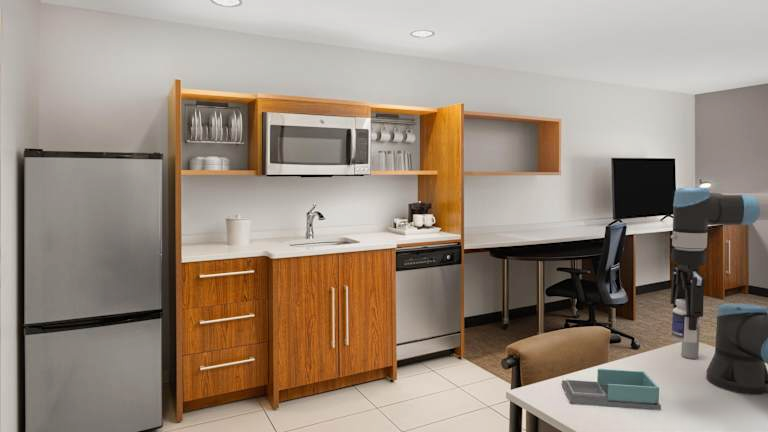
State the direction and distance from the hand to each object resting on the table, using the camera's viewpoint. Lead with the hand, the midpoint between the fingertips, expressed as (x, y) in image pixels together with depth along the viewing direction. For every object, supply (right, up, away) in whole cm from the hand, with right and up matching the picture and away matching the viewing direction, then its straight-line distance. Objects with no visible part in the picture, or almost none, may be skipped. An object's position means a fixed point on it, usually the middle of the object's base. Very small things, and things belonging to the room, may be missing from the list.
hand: (684, 337), depth 129 cm
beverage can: (+23, -15, +36) cm, 45 cm away
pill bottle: (0, -1, 0) cm, 1 cm away
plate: (-17, -17, +6) cm, 25 cm away
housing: (-12, -16, +5) cm, 21 cm away
